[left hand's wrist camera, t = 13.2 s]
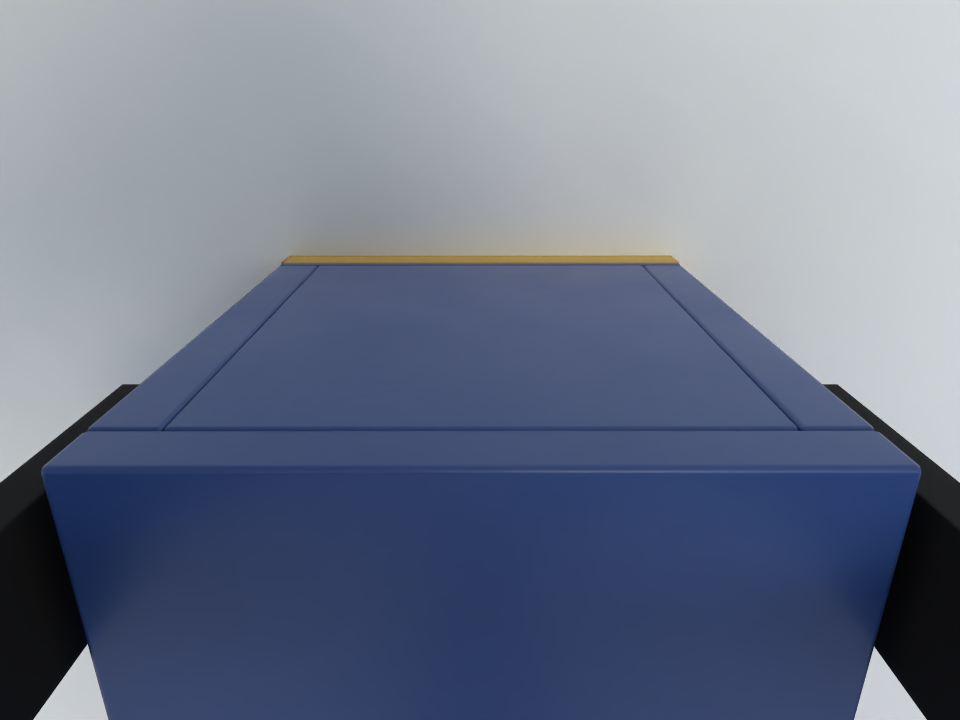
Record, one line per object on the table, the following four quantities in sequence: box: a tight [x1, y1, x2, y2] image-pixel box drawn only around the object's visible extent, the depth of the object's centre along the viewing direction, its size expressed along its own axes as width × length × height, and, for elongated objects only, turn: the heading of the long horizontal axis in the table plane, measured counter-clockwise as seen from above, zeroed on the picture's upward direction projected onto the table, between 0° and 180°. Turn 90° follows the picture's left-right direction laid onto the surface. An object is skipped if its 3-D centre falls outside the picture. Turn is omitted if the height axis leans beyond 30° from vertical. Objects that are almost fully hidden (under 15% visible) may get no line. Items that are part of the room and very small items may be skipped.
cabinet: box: [41, 256, 921, 720], centre depth 17 cm, size 19×11×12 cm, turn 0°
